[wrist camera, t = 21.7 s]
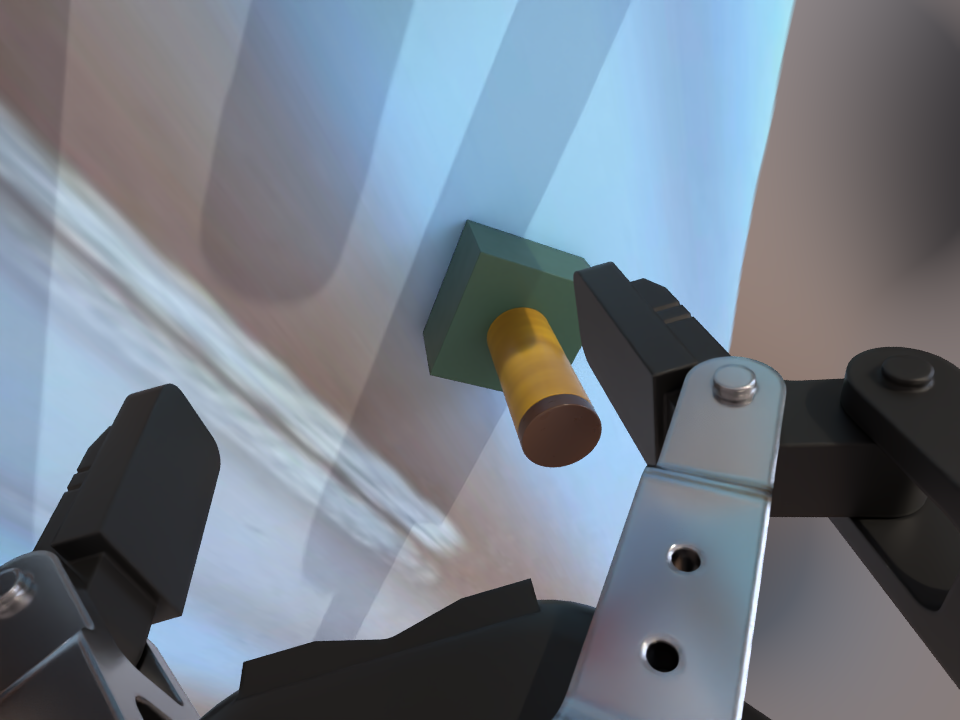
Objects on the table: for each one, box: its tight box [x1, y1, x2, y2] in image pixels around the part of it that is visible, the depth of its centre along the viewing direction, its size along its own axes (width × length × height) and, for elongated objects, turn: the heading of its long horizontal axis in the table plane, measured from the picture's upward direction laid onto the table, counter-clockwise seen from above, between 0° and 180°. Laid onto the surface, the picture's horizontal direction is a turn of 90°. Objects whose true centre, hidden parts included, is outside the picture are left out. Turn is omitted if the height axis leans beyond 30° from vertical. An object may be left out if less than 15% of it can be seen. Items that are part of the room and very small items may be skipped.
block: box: [423, 220, 590, 392], centre depth 43 cm, size 10×10×6 cm
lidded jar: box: [487, 307, 602, 467], centre depth 36 cm, size 5×5×11 cm
